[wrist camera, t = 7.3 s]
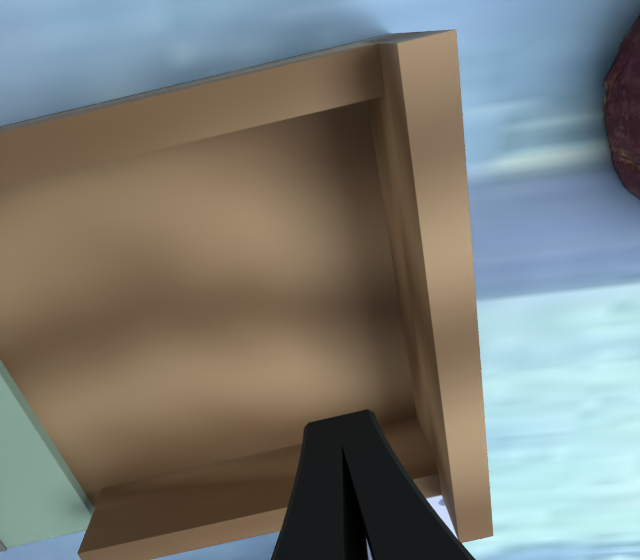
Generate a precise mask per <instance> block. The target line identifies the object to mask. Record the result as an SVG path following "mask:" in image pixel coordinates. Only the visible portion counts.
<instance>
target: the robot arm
mask: <svg viewBox="0 0 640 560" xmlns="http://www.w3.org/2000/svg"><path fill="white" fill-rule="evenodd" d="M271 560H475V559H474V557H473V556H472V555H471V554H470V553H469V552H468V550H467V549H466V548H465V547H464V546H463V545H462V543H461V542H460V541H459V540H458V538H457V535H456V533H455V530H454V527H453V525H452V522H451V519H450V516H449V514H448V511H447V508H446V506H445V503H444V500H443V497H442V495H440V496H436V497H431V498H427V499H426V498H425V497H424V495H423V494H422V492H421V491H420V490H419V488H418V487H417V485H416V484H415V483H414V481H413V480H412V478H411V477H410V476H409V474H408V473H407V471H406V470H405V468H404V467H403V465H402V464H401V462H400V461H399V459H398V457H397V456H396V454H395V453H394V451H393V449H392V448H391V446H390V444H389V442H388V441H387V439H386V437H385V435H384V433H383V431H382V430H381V427H380V425H379V423H378V421H377V419H376V416H375V413H374V412H372V411H370V410H369V409H367V410H362V411H358V412H353V413H349V414H344V415H340V416H335V417H331V418H327V419H322V420H318V421H313V422H309V423H308V424H307V425H306V426H305V427H304V433H303V441H302V448H301V453H300V459H299V463H298V468H297V472H296V477H295V481H294V485H293V489H292V492H291V496H290V500H289V503H288V507H287V510H286V514H285V518H284V521H283V524H282V528H281V531H280V534H279V537H278V540H277V543H276V546H275V549H274V552H273V555H272V558H271Z"/></svg>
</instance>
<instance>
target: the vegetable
mask: <svg viewBox="0 0 640 560" xmlns="http://www.w3.org/2000/svg"><path fill="white" fill-rule="evenodd" d="M631 28H632V29H631V30H629V32H628V33H627V34H626V35H625V38H624V40H623V42H622V44H621V47H620V51H619V54H618V56H617V58H616V60H615V62H614V64H613V66H612V68H611V70H610V72H609V73H608V75H607V77H606V79H605V82H604V83H605V89H606V96H605V99H603V101H604V107H605V108H604V114H605V119H604V120H605V125H606V130H607V134H608V139H609V143H610V146H609V147H610V148H611V150H612V157H613V160H614V165H615V169H616V171H617V172H618V174H619V176H620V178H621V180H622V182H623V184H624V186H625V187H626V188H627V189H628V191H629V192H630V193H631V194H633V195H635V196H636V197H638V198H639V199H640V16H639V18H638V19H637V20H636V22H635V24H634V26H632V27H631Z"/></svg>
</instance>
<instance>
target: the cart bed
mask: <svg viewBox="0 0 640 560" xmlns="http://www.w3.org/2000/svg"><path fill="white" fill-rule="evenodd" d="M0 360H1V361H2V363H3V364H4V366H5V368H6V369H7V371H8V372H9V374H10V375H11V377H12V379H13V380H14V382H15V383H16V385H17V386H18V388H19V390H20V391H21V393H22V394H23V396H24V397H25V399H26V401H27V402H28V404H29V405H30V407H31V409H32V410H33V412H34V413H35V415H36V416H37V418H38V420H39V421H40V423H41V424H42V426H43V427H44V429H45V431H46V432H47V434H48V435H49V437H50V438H51V440H52V442H53V443H54V445H55V446H56V448H57V449H58V451H59V453H60V454H61V456H62V457H63V459H64V460H65V462H66V464H67V465H68V467H69V468H70V470H71V472H72V473H73V475H74V476H75V478H76V479H77V481H78V483H79V484H80V486H81V487H82V489H83V490H84V492H85V494H86V495H87V497H88V498H89V500H90V501H91V503H92V505H93V506H94V508H95V509H94V512H93V514H92V517H91V520H90V522H89V525H88V528H87V530H86V533H85V535H84V538H83V541H82V543H81V546H80V548H79V551H78V555H79V557H80V558H81V559H82V560H150V559H155V558H159V557H164V556H168V555H173V554H178V553H182V552H187V551H191V550H196V549H200V548H205V547H209V546H214V545H218V544H223V543H227V542H232V541H236V540H241V539H245V538H250V537H255V536H259V535H264V534H268V533H273V532H277V531H281V528H282V524H283V521H284V518H285V514H286V510H287V507H288V503H289V500H290V496H291V492H292V489H293V485H294V481H295V477H296V472H297V468H298V463H299V459H300V453H301V448H302V441H303V433H304V427H305V426H306V425H307V424H308V423H309V422H313V421H318V420H322V419H327V418H331V417H335V416H340V415H344V414H349V413H353V412H358V411H362V410H367V409H369V410H370V411H372V412H374V413H375V416H376V419H377V421H378V423H379V425H380V427H381V430H382V431H383V433H384V435H385V437H386V439H387V441H388V442H389V444H390V446H391V448H392V449H393V451H394V453H395V454H396V456H397V457H398V459H399V461H400V462H401V464H402V465H403V467H404V468H405V470H406V471H407V473H408V474H409V476H410V477H411V478H412V480H413V481H414V483H415V484H416V485H417V487H418V488H419V490H420V491H421V492H422V494H423V495H424V497H425V498H426V499H427V498H431V497H436V496H440V495H442V497H443V500H444V503H445V506H446V508H447V511H448V514H449V516H450V519H451V522H452V525H453V527H454V530H455V533H456V535H457V538H458V540H459V541H460V542H461V543H464V542H468V541H473V540H477V539H482V538H486V537H491V536H493V526H492V512H491V499H490V485H489V471H488V458H487V444H486V430H485V417H484V403H483V389H482V376H481V362H480V348H479V335H478V321H477V307H476V294H475V280H474V266H473V253H472V239H471V226H470V212H469V198H468V185H467V171H466V157H465V144H464V130H463V116H462V103H461V89H460V75H459V62H458V48H457V34H456V30H441V31H426V32H410V33H395V34H388V35H384V36H379V37H375V38H371V39H367V40H363V41H358V42H354V43H350V44H346V45H342V46H337V47H333V48H329V49H325V50H320V51H316V52H312V53H308V54H304V55H299V56H295V57H291V58H287V59H283V60H278V61H274V62H270V63H266V64H262V65H257V66H253V67H249V68H245V69H241V70H236V71H232V72H228V73H224V74H220V75H215V76H211V77H207V78H203V79H199V80H194V81H190V82H186V83H182V84H178V85H173V86H169V87H165V88H161V89H157V90H152V91H148V92H144V93H140V94H136V95H131V96H127V97H123V98H119V99H114V100H110V101H106V102H102V103H98V104H93V105H89V106H85V107H81V108H77V109H72V110H68V111H64V112H60V113H56V114H51V115H47V116H43V117H39V118H35V119H30V120H26V121H22V122H18V123H14V124H9V125H5V126H1V127H0Z"/></svg>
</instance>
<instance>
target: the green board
mask: <svg viewBox="0 0 640 560" xmlns="http://www.w3.org/2000/svg"><path fill="white" fill-rule="evenodd" d="M94 509H95V508H94V506H93V505H92V503H91V501H90V500H89V498H88V497H87V495H86V494H85V492H84V490H83V489H82V487H81V486H80V484H79V483H78V481H77V479H76V478H75V476H74V475H73V473H72V472H71V470H70V468H69V467H68V465H67V464H66V462H65V460H64V459H63V457H62V456H61V454H60V453H59V451H58V449H57V448H56V446H55V445H54V443H53V442H52V440H51V438H50V437H49V435H48V434H47V432H46V431H45V429H44V427H43V426H42V424H41V423H40V421H39V420H38V418H37V416H36V415H35V413H34V412H33V410H32V409H31V407H30V405H29V404H28V402H27V401H26V399H25V397H24V396H23V394H22V393H21V391H20V390H19V388H18V386H17V385H16V383H15V382H14V380H13V379H12V377H11V375H10V374H9V372H8V371H7V369H6V368H5V366H4V364H3V363H2V361H1V360H0V552H1V551H6V550H7V548H11V547H15V546H19V545H24V544H28V543H32V542H37V541H41V540H45V539H49V538H54V537H58V536H62V535H67V534H71V533H75V532H80V531H84V530H87V528H88V525H89V522H90V520H91V517H92V514H93V512H94Z"/></svg>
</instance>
